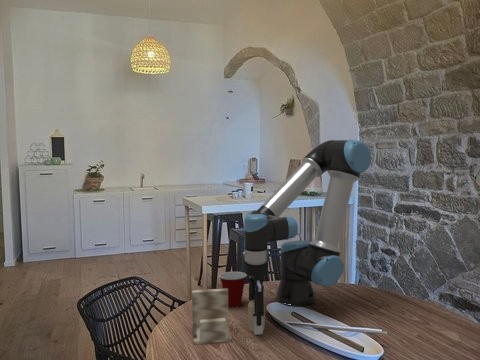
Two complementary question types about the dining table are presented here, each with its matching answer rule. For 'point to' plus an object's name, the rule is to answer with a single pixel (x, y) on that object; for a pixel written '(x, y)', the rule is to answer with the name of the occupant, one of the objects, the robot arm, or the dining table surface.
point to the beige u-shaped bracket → (210, 316)
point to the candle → (251, 318)
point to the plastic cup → (233, 286)
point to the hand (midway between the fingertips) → (256, 328)
